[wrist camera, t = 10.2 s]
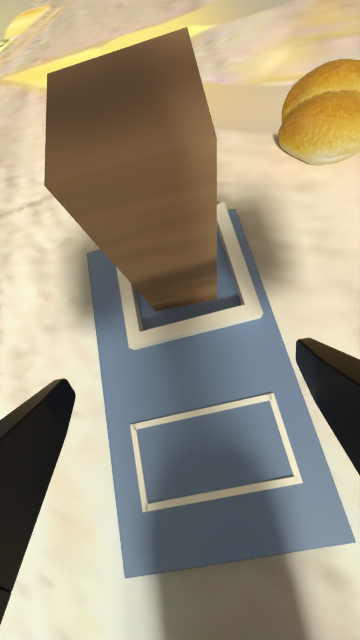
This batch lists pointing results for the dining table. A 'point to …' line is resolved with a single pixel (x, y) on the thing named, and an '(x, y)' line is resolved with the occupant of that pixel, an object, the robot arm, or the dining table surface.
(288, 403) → the blueprint board
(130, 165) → the walnut column
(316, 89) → the bread roll
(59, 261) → the dining table surface
